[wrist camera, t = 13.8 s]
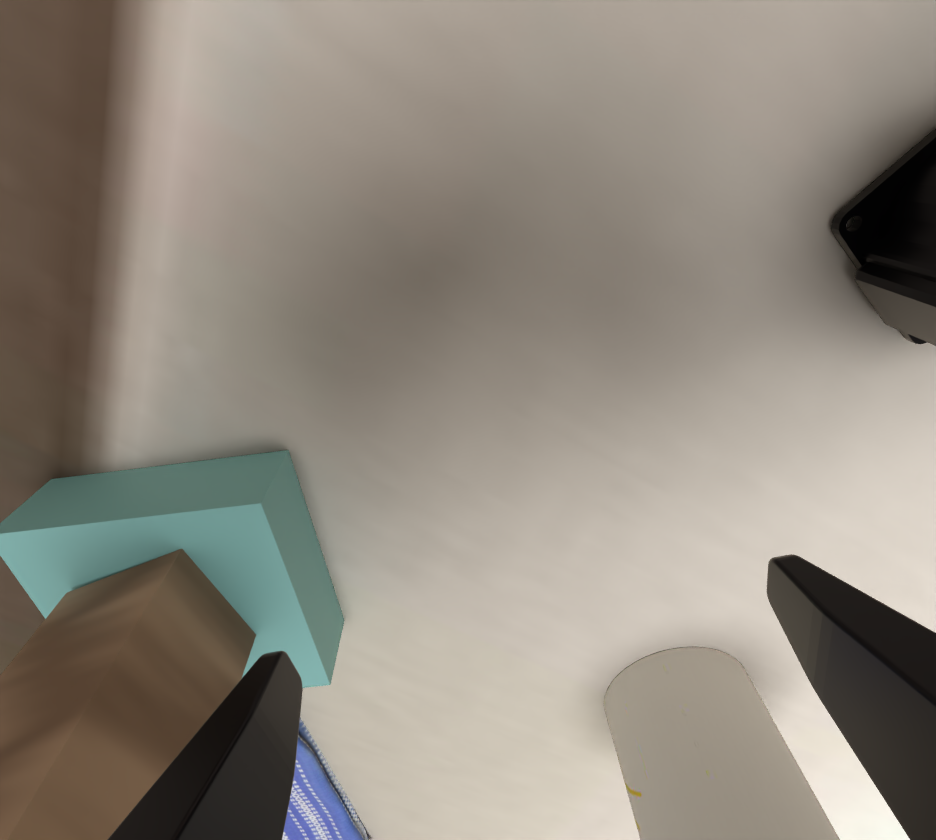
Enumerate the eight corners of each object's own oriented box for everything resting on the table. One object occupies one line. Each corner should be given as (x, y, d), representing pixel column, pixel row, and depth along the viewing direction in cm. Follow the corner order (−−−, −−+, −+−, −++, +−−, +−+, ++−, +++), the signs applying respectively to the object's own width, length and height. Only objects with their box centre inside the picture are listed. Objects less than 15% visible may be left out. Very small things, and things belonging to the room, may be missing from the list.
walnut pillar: (181, 548, 20) (-166, 1127, 8) (256, 634, 22) (69, 1184, 10) (66, 593, 20) (-418, 1197, 8) (150, 672, 22) (-141, 1237, 11)
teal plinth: (291, 444, 22) (260, 503, 19) (345, 612, 27) (330, 684, 23) (58, 472, 22) (-14, 535, 19) (153, 633, 27) (109, 708, 24)
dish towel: (-111, 741, 31) (-160, 794, 28) (284, 672, 29) (269, 723, 27) (58, 877, 39) (31, 928, 36) (374, 829, 37) (369, 879, 35)
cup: (574, 706, 30) (643, 1011, 20) (683, 625, 28) (831, 931, 17) (668, 754, 33) (773, 1046, 22) (777, 685, 30) (956, 982, 20)
